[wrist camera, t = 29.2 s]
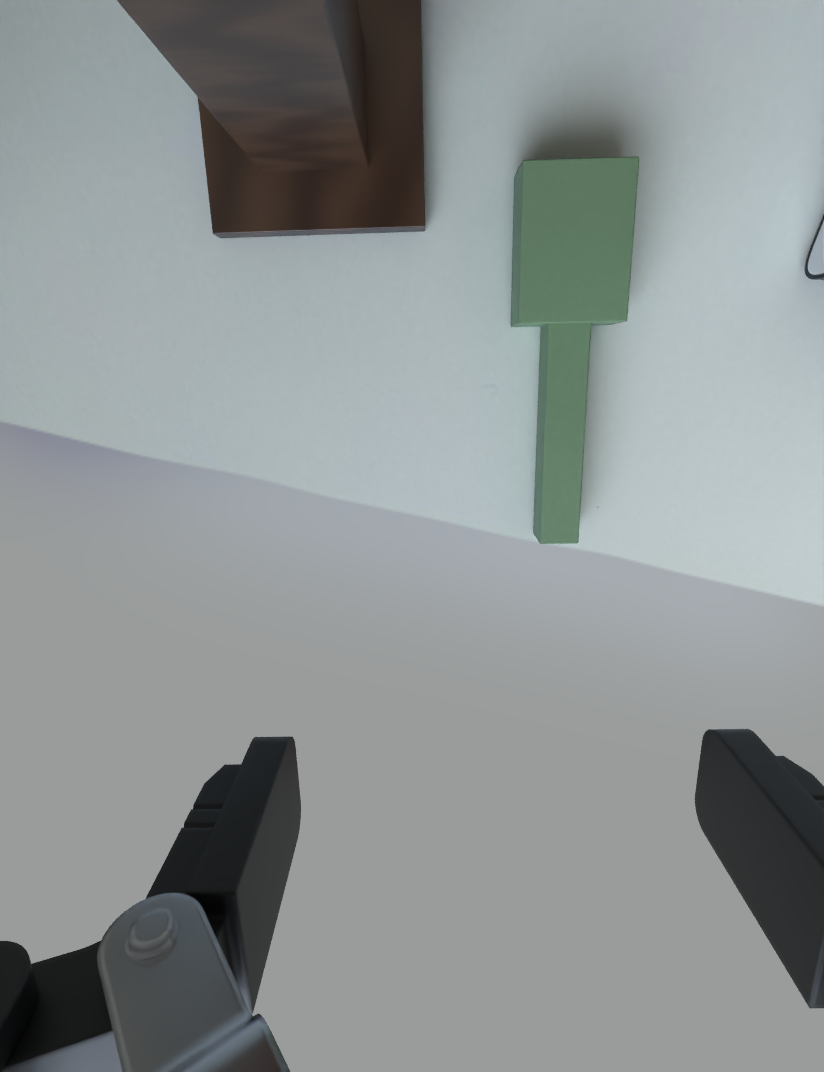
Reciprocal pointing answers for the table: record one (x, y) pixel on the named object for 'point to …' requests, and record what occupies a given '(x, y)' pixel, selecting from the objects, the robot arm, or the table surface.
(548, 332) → the paddle
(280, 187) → the stand
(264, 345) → the table surface
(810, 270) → the laminator
